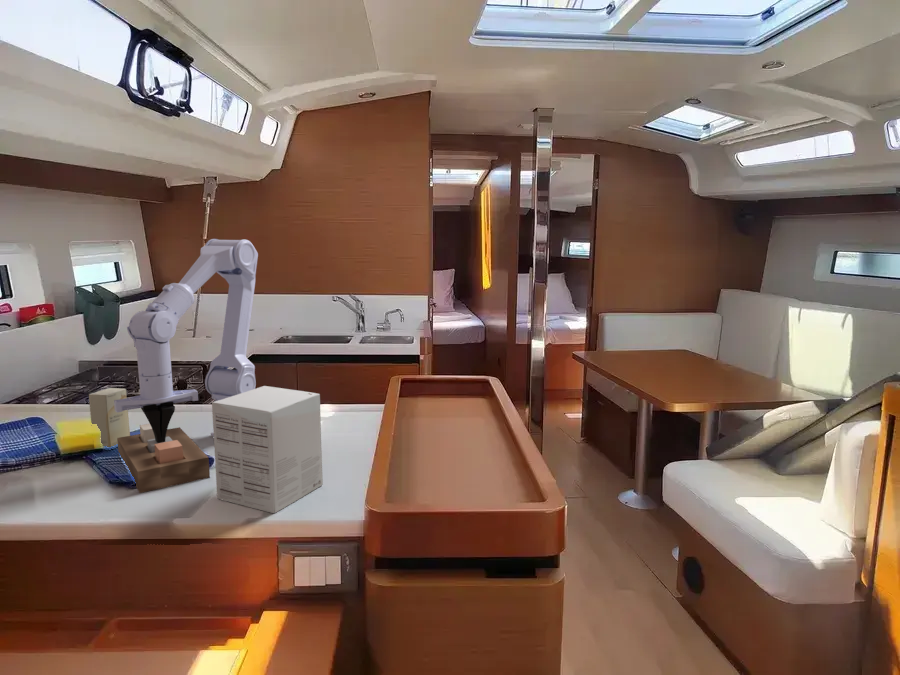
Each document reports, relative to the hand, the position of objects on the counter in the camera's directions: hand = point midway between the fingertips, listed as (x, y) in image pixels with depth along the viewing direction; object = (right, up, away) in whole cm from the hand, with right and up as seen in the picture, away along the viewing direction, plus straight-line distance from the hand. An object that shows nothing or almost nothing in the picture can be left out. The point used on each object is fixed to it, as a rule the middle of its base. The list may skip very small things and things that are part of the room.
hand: (160, 441), depth 119 cm
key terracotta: (+4, -3, -5) cm, 7 cm away
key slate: (0, -3, +1) cm, 3 cm away
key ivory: (-4, -1, +6) cm, 7 cm away
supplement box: (+25, -8, -10) cm, 28 cm away
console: (0, -5, +1) cm, 5 cm away
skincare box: (-16, -3, +12) cm, 21 cm away
